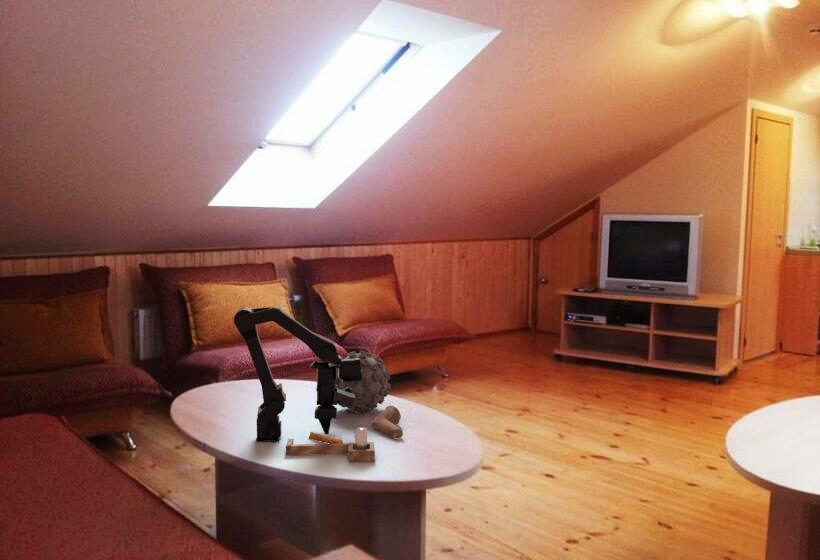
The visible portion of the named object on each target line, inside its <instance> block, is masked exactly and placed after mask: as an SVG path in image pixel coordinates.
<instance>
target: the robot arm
mask: <svg viewBox="0 0 820 560" xmlns="http://www.w3.org/2000/svg"><path fill="white" fill-rule="evenodd" d="M271 322H274V323H275V324H276V325H278V326H279V327H282V329H283V330H285V331H286V332H289V334H291V335H292V336H294V337H295V338H297V339H298V340H299V341H300V342H303V343H304V344H305V345H306V346H307V347H308V348H309V349H310V351H312V353H313V354H314V355H315V356H316V357H317V358H318V359H319V360H321V361H319V360H318V359H317V358H315V359H314V360H313V362H311V363H310V364H309V365H310V366H309V367H310V369H311V370H312V369H315V370H316V405H317V407H315V409H314V419H315V420H318V422H319V424H320V426H321V429H322V431H323V433H324V435H329V433H330V428H331V424H332V419H334V420H335V419H337V417H338V408H337V407H336V406H338V403H340V404H342V405H345V406H347V407H349V408H352V406H353V404H354V401H355V398H356V396H355V394H354V393H353V394H352V390H351V388H349V387H346V388H345V389H344V390H340V389H337V385H336V368H338V378H339V379H340V378H341V380H342V382H354V381H361V380H362V371H361V363H360V358H355V359H343V358H342V356H341V355H340V354H339V353H338V351H337V346H336V344H335V343H334V341H333V340H331V339H330V338H327V337H326V336H323V335H320V334H319V333H315V332H313V331H311V329H309V328H308V327H306V326H305V325H303V324H302V323H300V322H299V321H297V320H296V319H295V318H293V317H292V316H291V315H290V314H287V313H286V312H285V311H284V310H282V309H281V307H279V306H277V305H273V306H269V307H258V308H257V307H256V308H250V307H247V306H243V307H240V308H238V310H237V311H236V313H235V315H234V317H233V323H234V325H235V327H236V329H237V331H238V332H239V334H240V335H241V337H242V338H243V340H244V342H245V344H246V347H247V349H248V351H249V354H250V357H251V360H252V362H253V363H252V364H253V366H254V368H255V371H256V374H257V377H258V379H259V380H258V381H259V382H260V385H261V392H262V399H263V402H262V403H261V404H260V405H259V406H258V408H257V414H256V416H257V417H256V438H255V442H278V441H279V440H280V438H281V437H282V433H283V432H282V421H281V420H280V416H279V415H280V414H281V413H282V412H283V411H284V409H285V407H286V405H285V404H286V402H287V394H286V393H285V392H284V389H283V383H282V382H279V384H277V382H276V381H275V379H274V377H273V373H272V372H271V368H270V365H269V363H268V359H267V357H266V353H265V351H264V349H263V346H262V343H261V339H260V337H259V332H258V331H259V330H258V325H261V324H267V323H271ZM347 407H346V408H347Z"/></svg>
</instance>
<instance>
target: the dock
mask: <svg viewBox="0 0 820 560" xmlns="http://www.w3.org/2000/svg"><path fill="white" fill-rule="evenodd" d="M286 441H287V442H286V445H285V456H305V455H304V454H323V455H347V457H348V459H347V461H348V463H369V462H370V463H373V462H376V461H375V457H376V456H375V455H376V454H375V453H376V451H375V450H376V448H375V442H374V441H373V442H371V441H367V449H359V450H355V442H346V443H345V442H343V443H339V444H326V443H303V444H302V443H301V444H300V443H299V444H296V443H295V444H294V438H287V440H286Z"/></svg>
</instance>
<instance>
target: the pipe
mask: <svg viewBox="0 0 820 560" xmlns="http://www.w3.org/2000/svg"><path fill="white" fill-rule="evenodd" d="M401 418H402V417H401V413H400V410H399V409H398V408H397V407H395V406H393V405H388V406H386V407H385V409H383V410H382V411H381V412H380V413H379V414H378V415H377V416H376V417H375V418H374V420H373V421H372V422H371V423H370V426H371V428H373V429H375V430H376V431H379V432H380V433H382V434H384V435H386V436H388V437H389V436H390V438H392V439H393V438H399V439H400V438H402V437H403V436H404V432H403V430H402V429H401V428H400V427H398V426H397V425H398V424H400V420H401ZM396 424H397V425H396Z"/></svg>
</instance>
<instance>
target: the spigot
mask: <svg viewBox="0 0 820 560" xmlns="http://www.w3.org/2000/svg"><path fill="white" fill-rule="evenodd" d="M354 431H355V432H354V433H355V434H354V436H355V438H354V439H355V440H354V443H355V450H359V449H367V442H368V427H365V426H358V427H357V426H356V427H355V430H354Z"/></svg>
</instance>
